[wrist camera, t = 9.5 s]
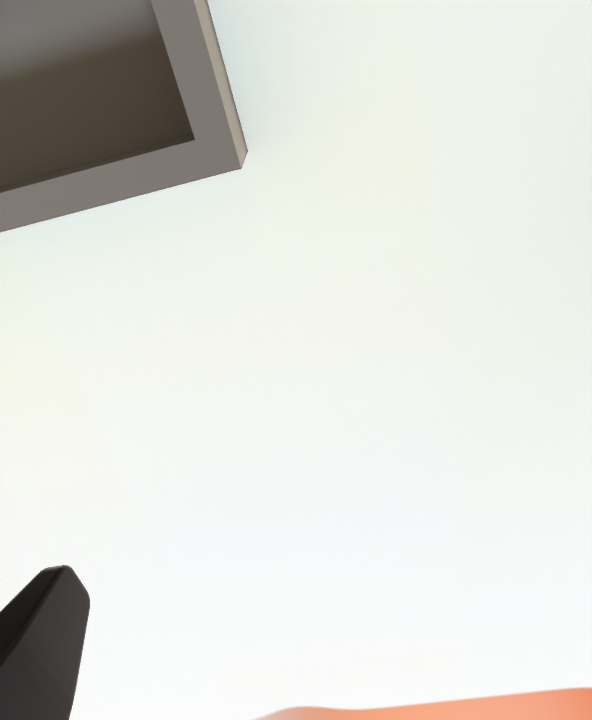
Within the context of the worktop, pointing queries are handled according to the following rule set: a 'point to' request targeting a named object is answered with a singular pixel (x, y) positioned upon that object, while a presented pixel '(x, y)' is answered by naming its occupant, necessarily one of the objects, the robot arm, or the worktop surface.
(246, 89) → the worktop surface
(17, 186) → the serving bin
